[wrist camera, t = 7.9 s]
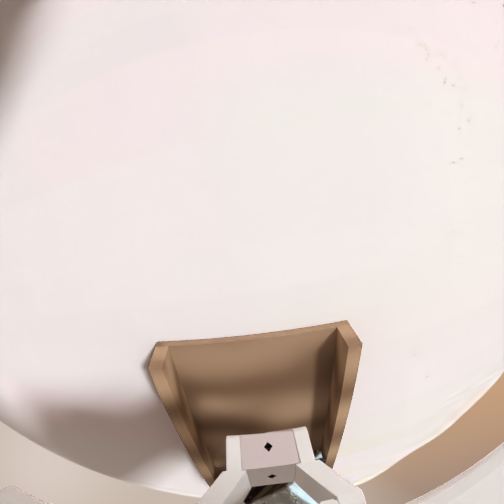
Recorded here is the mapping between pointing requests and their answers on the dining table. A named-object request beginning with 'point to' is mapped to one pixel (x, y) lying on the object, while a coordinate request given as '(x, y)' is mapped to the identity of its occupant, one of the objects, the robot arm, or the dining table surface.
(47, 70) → the dining table surface
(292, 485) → the bell
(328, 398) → the cradle
